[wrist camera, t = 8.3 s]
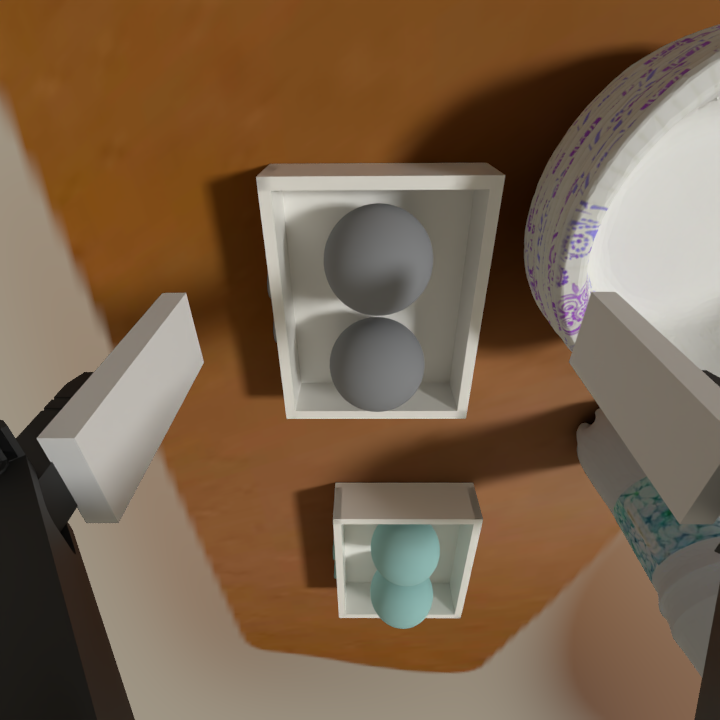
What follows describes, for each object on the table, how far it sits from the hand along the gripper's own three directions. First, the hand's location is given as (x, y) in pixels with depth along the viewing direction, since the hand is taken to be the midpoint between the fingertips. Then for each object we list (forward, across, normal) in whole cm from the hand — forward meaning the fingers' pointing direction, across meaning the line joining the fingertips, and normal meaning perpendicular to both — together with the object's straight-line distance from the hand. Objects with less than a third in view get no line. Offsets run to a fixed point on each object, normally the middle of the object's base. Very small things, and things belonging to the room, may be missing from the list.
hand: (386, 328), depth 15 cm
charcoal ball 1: (+11, 0, -1) cm, 11 cm away
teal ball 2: (+10, +2, -31) cm, 33 cm away
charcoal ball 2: (+11, 0, -7) cm, 13 cm away
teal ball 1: (+10, +2, -25) cm, 27 cm away
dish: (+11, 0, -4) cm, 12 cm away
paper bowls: (+12, +15, +1) cm, 19 cm away
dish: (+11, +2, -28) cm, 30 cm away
